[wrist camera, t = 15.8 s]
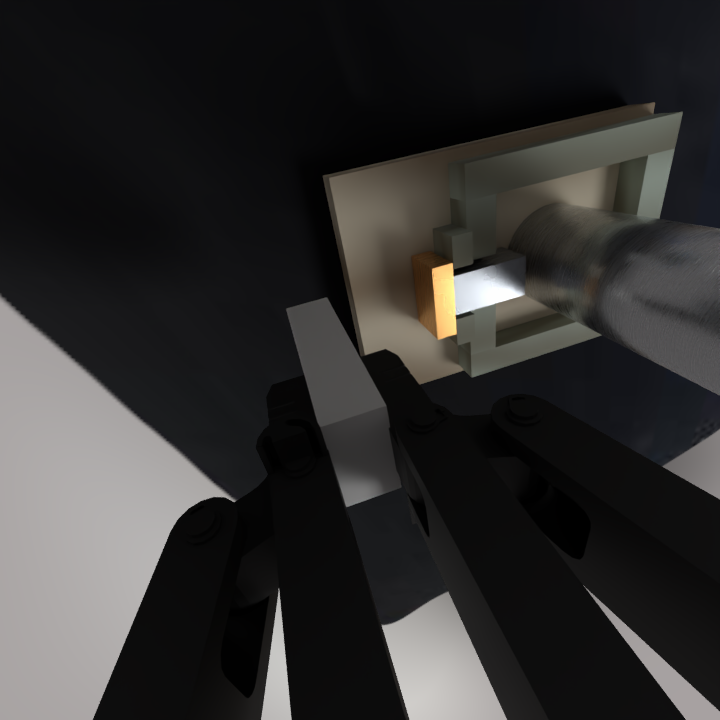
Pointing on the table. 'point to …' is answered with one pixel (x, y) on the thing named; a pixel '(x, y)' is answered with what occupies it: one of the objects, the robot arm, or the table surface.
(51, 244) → the table surface
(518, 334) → the dock mount
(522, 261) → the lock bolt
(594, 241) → the metal bottle
